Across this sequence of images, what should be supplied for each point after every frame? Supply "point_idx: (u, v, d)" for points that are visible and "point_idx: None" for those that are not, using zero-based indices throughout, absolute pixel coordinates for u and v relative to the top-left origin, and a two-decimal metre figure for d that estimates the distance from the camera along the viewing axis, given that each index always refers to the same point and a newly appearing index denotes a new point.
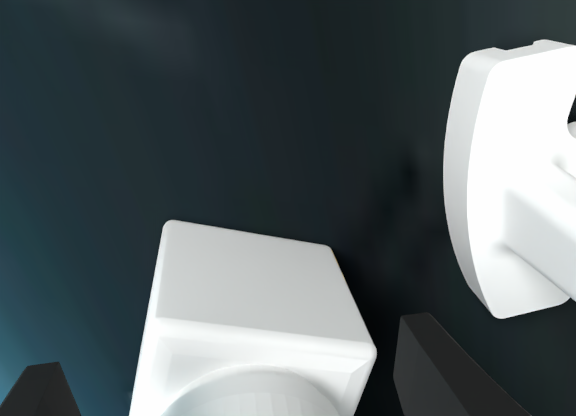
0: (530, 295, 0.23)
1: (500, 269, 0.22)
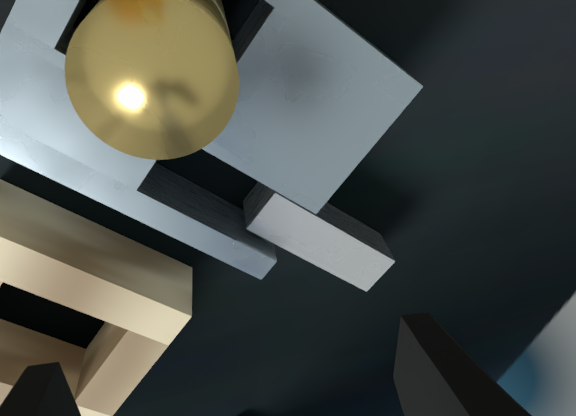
0: None
1: None
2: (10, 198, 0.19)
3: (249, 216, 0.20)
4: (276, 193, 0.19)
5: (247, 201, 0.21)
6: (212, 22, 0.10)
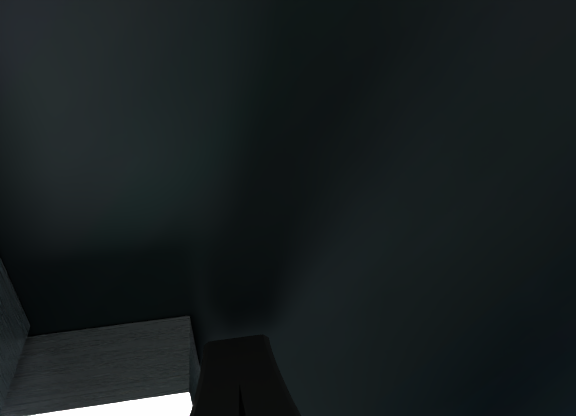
0: None
1: None
2: None
3: None
4: None
5: None
6: None
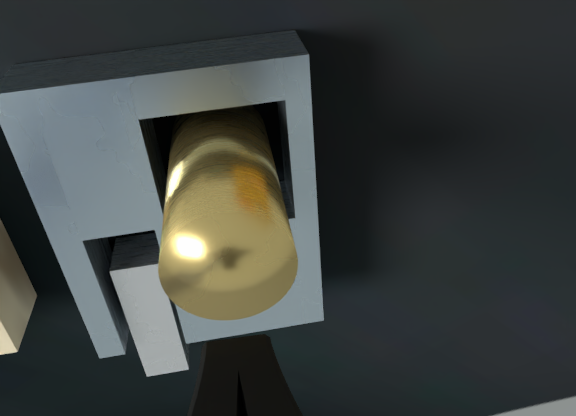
0: None
1: None
2: None
3: (118, 261, 0.20)
4: None
5: (121, 243, 0.21)
6: (296, 270, 0.13)
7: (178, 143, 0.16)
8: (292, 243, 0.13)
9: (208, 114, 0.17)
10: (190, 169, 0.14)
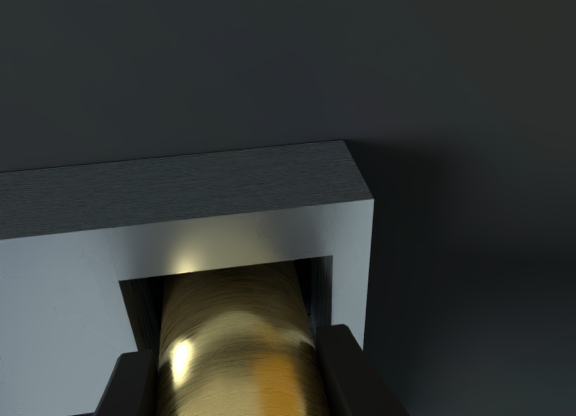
0: None
1: None
2: None
3: None
4: None
5: None
6: None
7: (177, 309, 0.11)
8: None
9: None
10: (200, 390, 0.09)
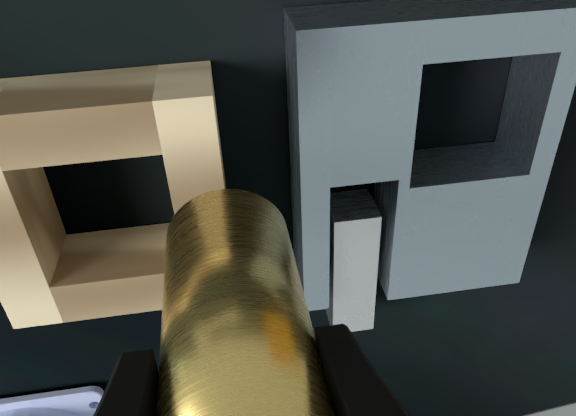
0: None
1: None
2: (213, 88, 0.17)
3: (338, 213, 0.20)
4: (381, 217, 0.20)
5: (332, 198, 0.21)
6: None
7: (182, 271, 0.12)
8: None
9: (224, 229, 0.12)
10: (206, 340, 0.10)
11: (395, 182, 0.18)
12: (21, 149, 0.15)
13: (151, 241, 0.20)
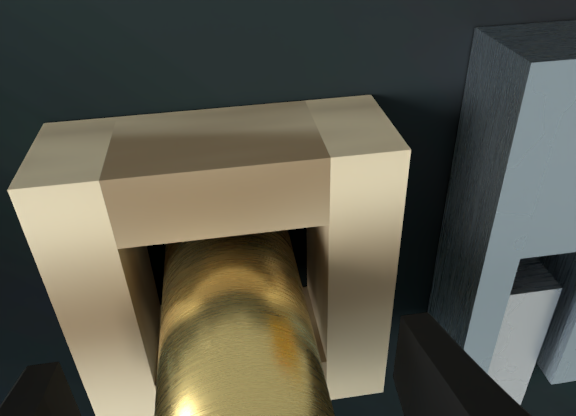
0: None
1: None
2: None
3: None
4: (561, 288, 0.16)
5: None
6: None
7: (182, 258, 0.12)
8: None
9: None
10: (205, 323, 0.10)
11: None
12: (147, 221, 0.11)
13: None
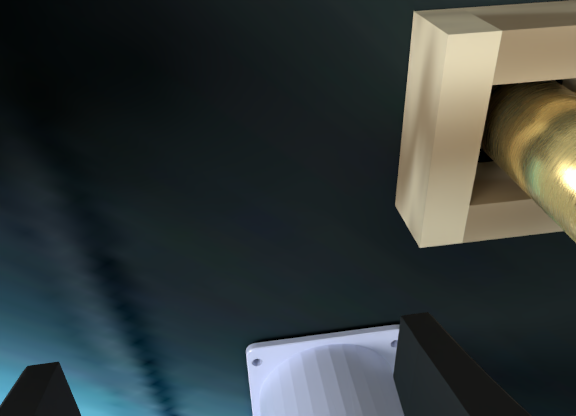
0: None
1: None
2: None
3: None
4: None
5: None
6: None
7: (518, 99, 0.18)
8: None
9: None
10: None
11: None
12: (518, 64, 0.17)
13: None
